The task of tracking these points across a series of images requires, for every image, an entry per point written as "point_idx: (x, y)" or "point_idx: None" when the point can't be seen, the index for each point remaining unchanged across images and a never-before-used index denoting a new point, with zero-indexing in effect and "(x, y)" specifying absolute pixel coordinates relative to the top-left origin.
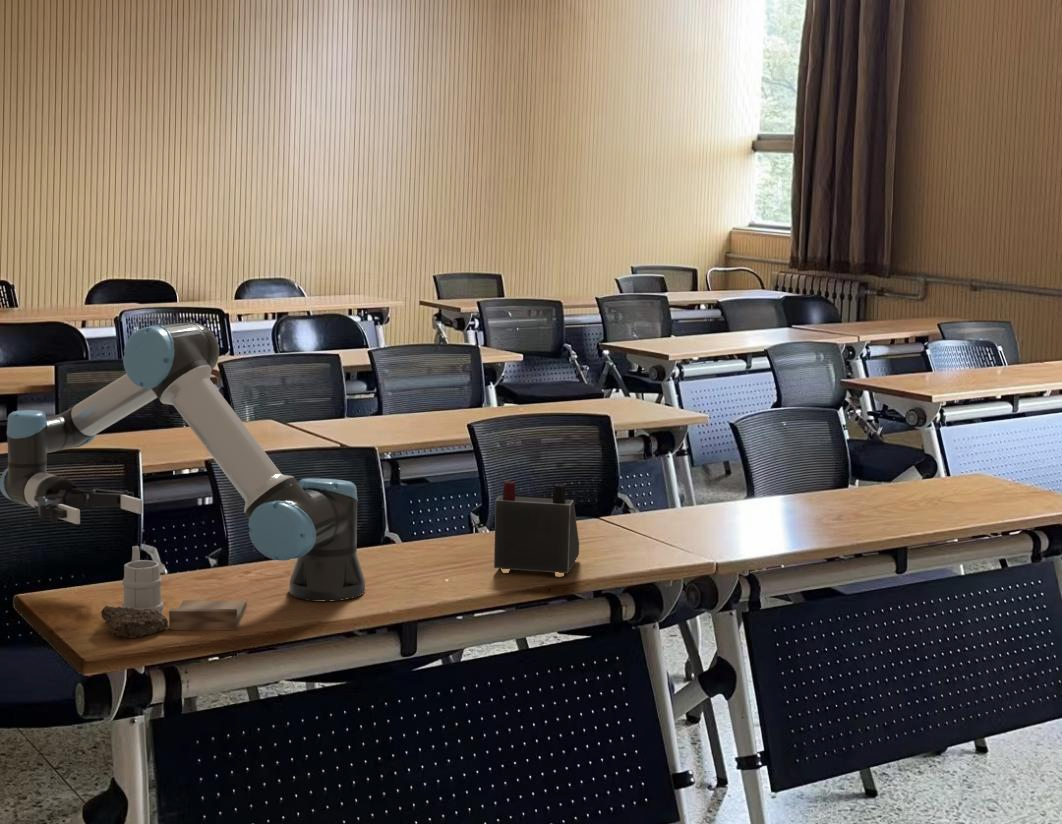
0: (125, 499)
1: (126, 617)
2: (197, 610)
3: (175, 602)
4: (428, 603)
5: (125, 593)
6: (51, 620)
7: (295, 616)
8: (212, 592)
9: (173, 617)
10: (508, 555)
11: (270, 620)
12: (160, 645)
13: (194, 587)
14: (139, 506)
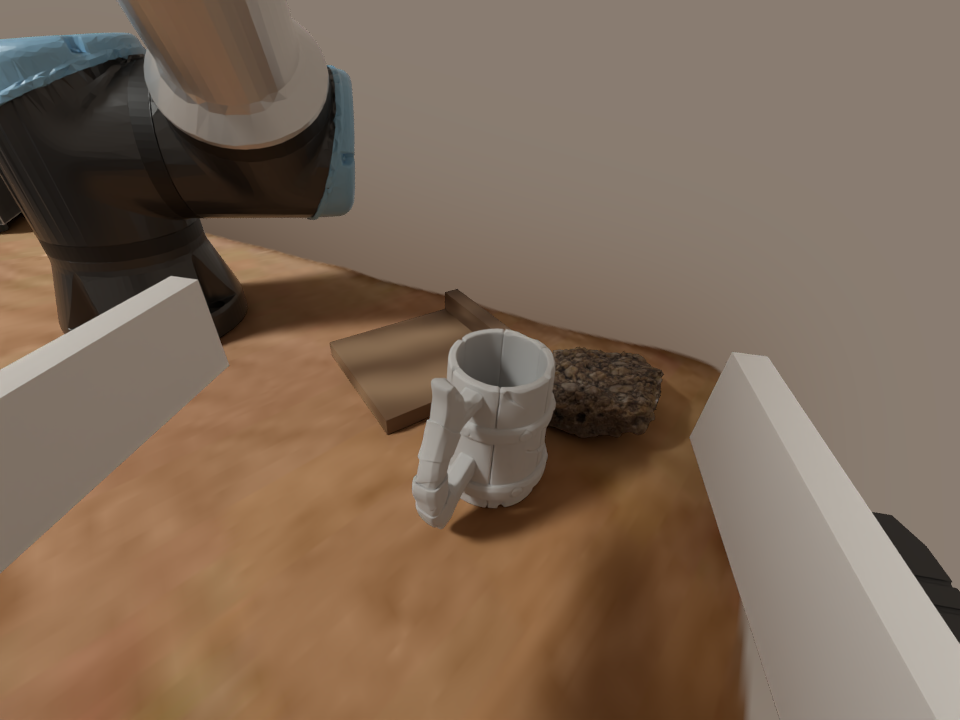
0: (13, 430)
1: (628, 361)
2: (492, 320)
3: (350, 477)
4: (215, 240)
5: (545, 431)
6: (722, 639)
7: (345, 299)
8: (216, 465)
9: None
10: (1, 195)
11: (383, 310)
12: (591, 346)
13: (159, 539)
14: (212, 320)
